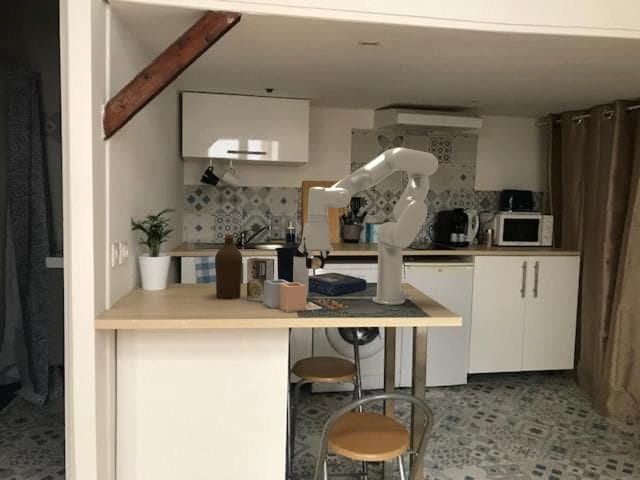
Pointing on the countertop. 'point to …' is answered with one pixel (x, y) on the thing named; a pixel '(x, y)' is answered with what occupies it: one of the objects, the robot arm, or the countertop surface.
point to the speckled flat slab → (330, 304)
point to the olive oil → (228, 270)
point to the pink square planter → (292, 297)
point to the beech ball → (316, 263)
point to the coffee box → (258, 277)
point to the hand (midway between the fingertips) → (315, 267)
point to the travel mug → (300, 269)
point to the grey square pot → (272, 292)
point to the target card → (312, 306)
